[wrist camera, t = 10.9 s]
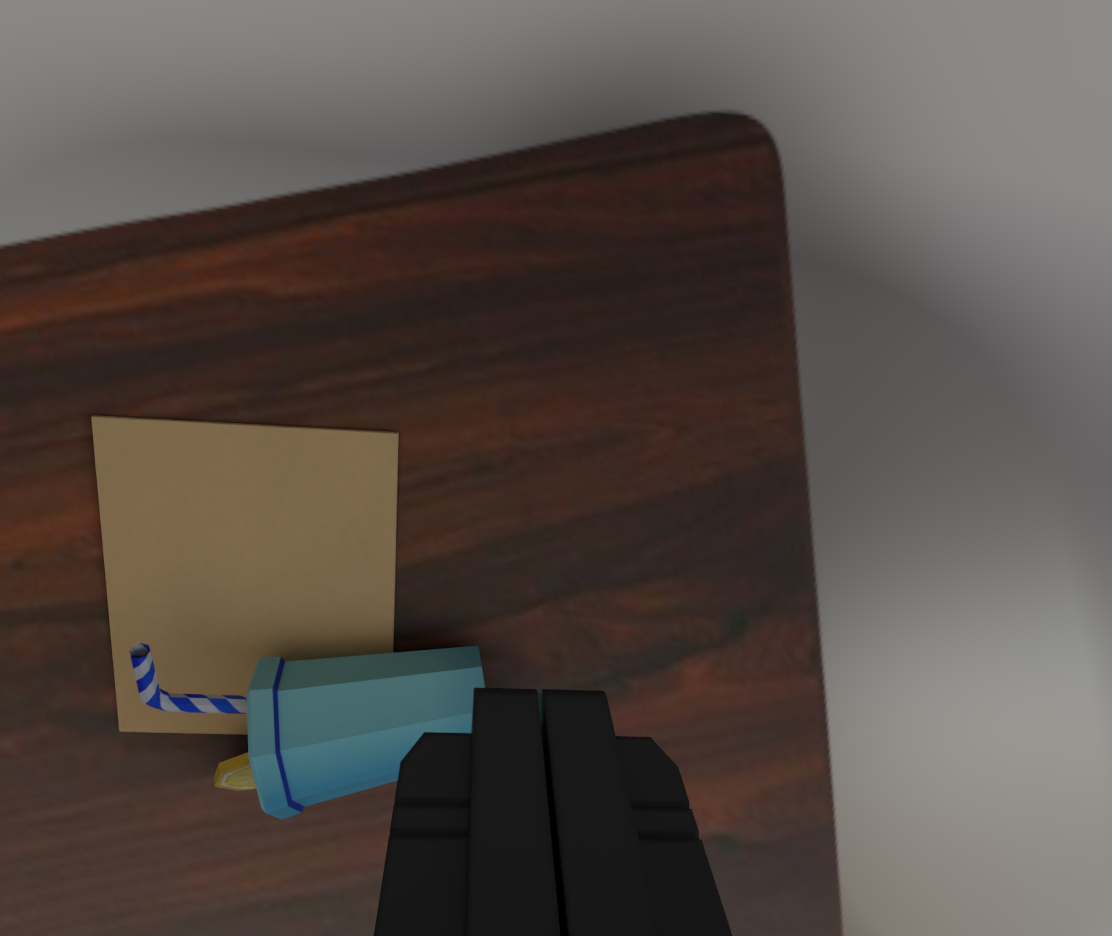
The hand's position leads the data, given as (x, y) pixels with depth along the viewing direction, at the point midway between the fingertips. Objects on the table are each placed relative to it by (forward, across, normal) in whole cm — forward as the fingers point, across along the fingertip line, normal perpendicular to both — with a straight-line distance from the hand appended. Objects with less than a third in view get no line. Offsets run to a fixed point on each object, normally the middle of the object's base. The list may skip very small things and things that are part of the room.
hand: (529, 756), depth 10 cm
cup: (+29, 0, +17) cm, 34 cm away
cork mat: (+32, +12, +14) cm, 37 cm away
